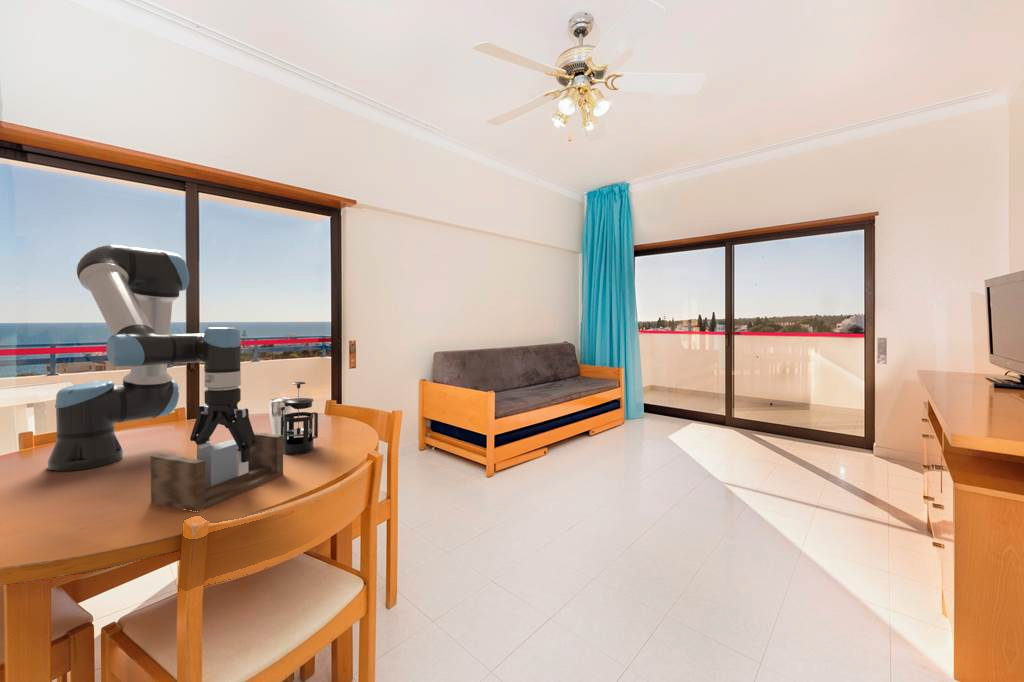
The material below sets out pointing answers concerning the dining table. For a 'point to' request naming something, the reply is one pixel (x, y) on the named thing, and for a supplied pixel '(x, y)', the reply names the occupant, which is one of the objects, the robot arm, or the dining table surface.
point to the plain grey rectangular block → (219, 462)
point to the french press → (298, 443)
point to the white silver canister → (278, 415)
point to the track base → (185, 477)
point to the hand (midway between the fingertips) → (223, 471)
